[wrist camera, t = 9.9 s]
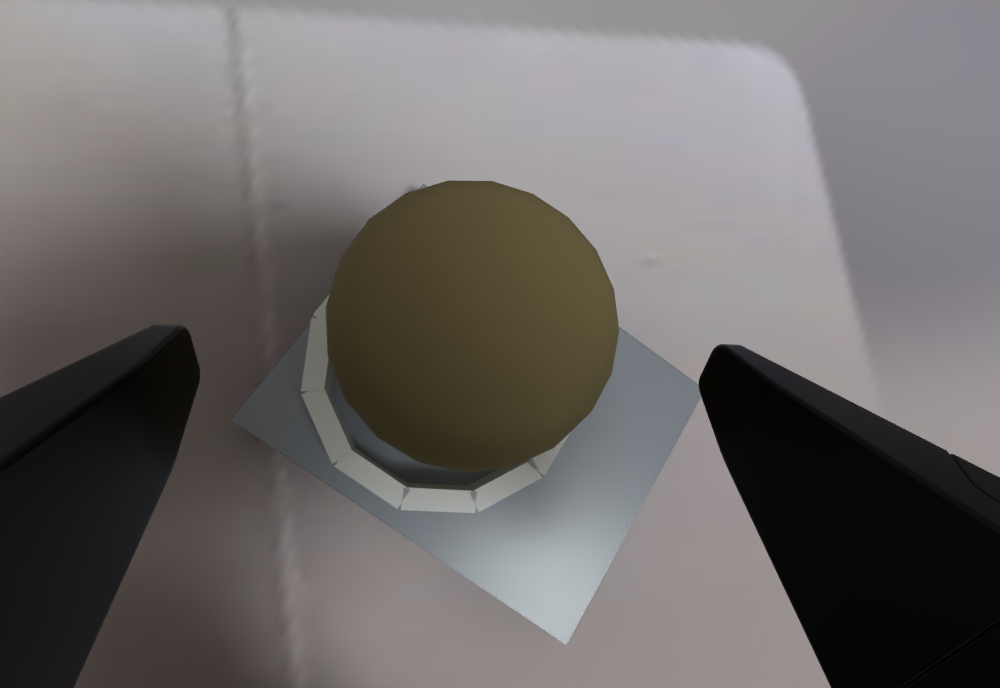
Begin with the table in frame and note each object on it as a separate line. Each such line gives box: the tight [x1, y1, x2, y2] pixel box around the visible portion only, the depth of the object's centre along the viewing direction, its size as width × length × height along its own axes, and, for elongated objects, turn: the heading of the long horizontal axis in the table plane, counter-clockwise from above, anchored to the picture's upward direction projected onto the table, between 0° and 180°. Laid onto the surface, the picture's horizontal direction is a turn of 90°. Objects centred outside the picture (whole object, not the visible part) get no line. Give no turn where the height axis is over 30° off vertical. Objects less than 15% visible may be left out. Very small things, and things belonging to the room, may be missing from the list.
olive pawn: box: [326, 181, 619, 473], centre depth 13 cm, size 6×6×11 cm
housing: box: [231, 184, 701, 644], centre depth 18 cm, size 14×11×3 cm
